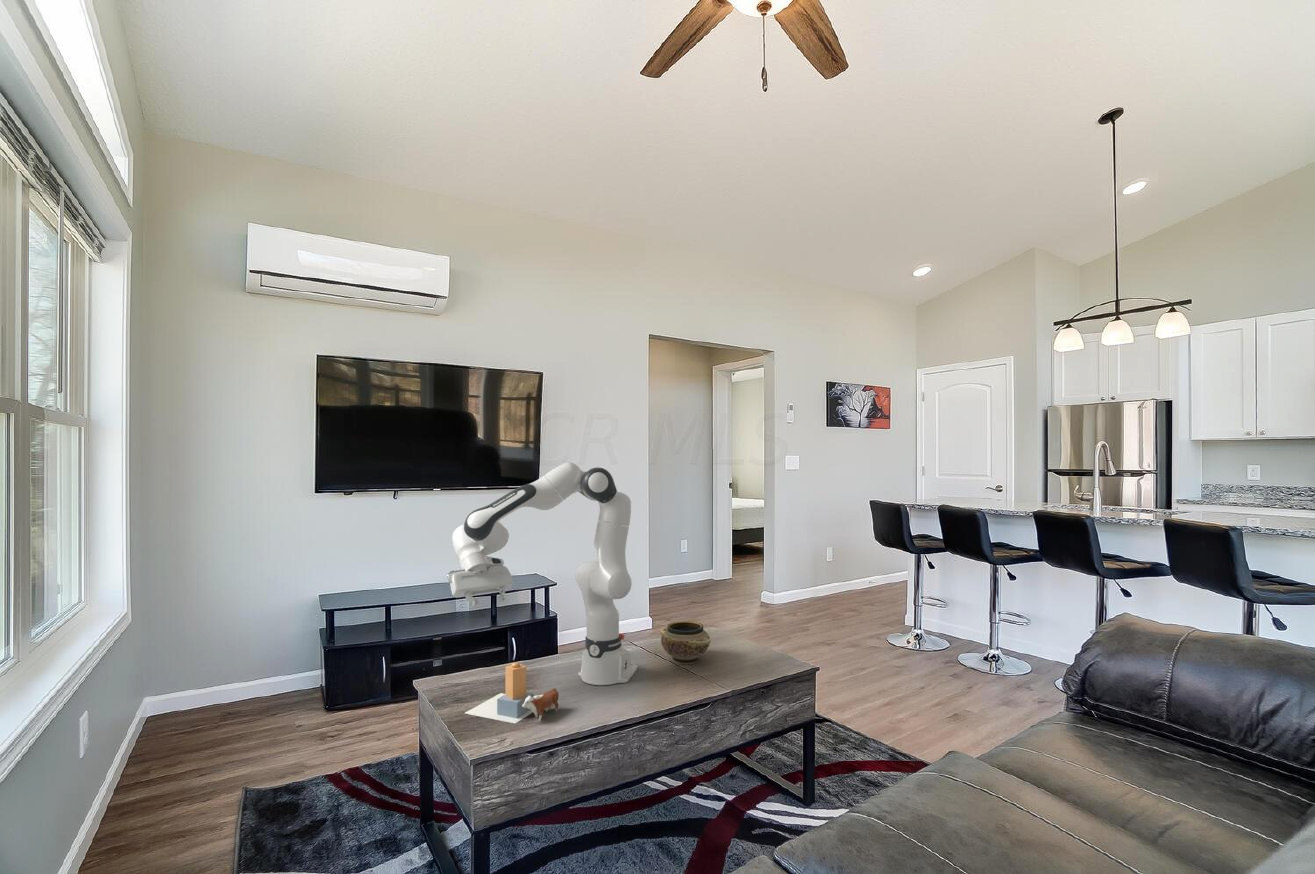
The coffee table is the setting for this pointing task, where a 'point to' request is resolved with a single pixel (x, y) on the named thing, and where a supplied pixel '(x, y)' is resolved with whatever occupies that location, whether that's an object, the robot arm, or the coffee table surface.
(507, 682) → the tall brick
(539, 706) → the bull figurine
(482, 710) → the baseplate
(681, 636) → the ceramic bowl
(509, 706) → the base block
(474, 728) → the coffee table surface
